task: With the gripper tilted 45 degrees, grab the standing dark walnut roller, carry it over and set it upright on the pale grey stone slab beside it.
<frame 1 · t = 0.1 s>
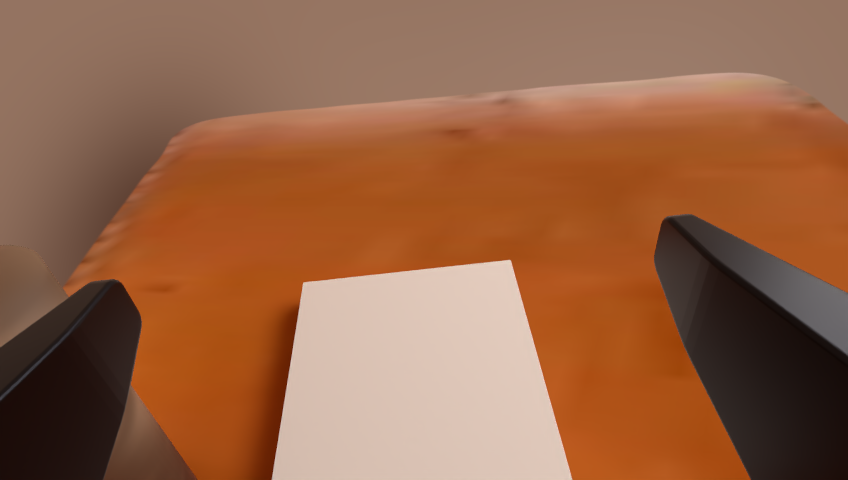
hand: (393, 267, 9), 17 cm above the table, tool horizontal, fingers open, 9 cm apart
stone slab: (416, 406, 26), on the table
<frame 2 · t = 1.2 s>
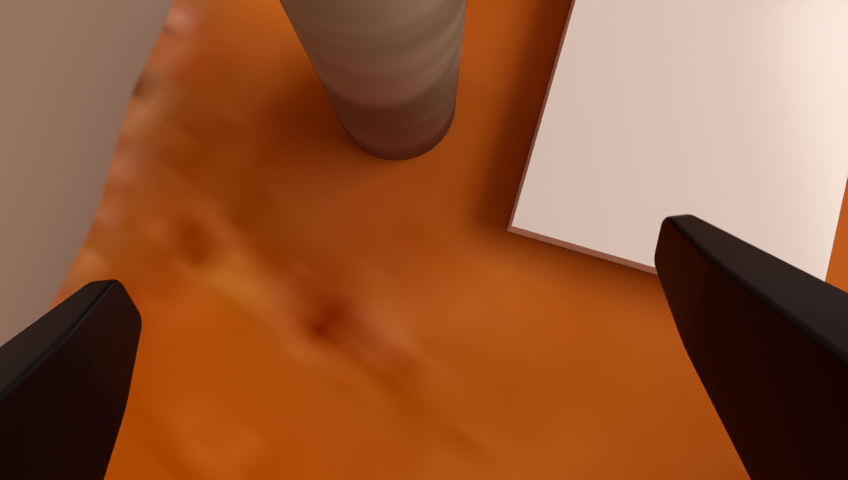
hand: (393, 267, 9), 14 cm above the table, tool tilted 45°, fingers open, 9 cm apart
stone slab: (692, 92, 23), on the table
walnut roller: (397, 103, 24), on the table
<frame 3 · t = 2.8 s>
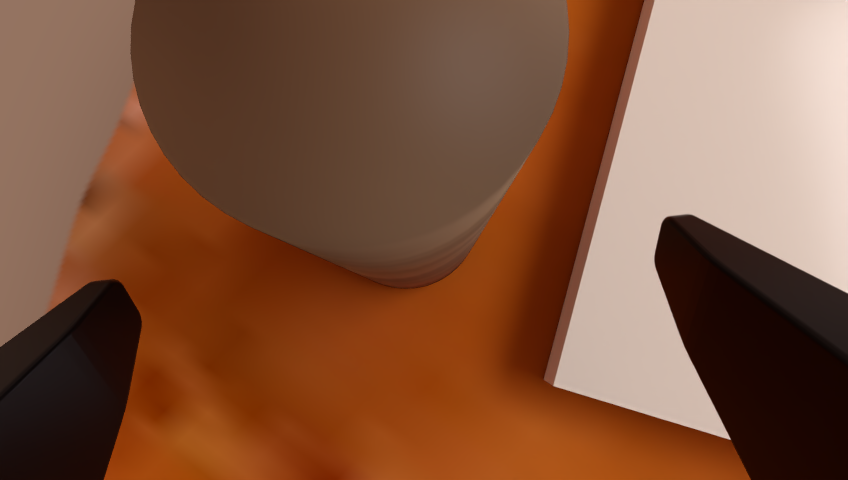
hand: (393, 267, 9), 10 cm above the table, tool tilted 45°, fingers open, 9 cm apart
stone slab: (772, 203, 19), on the table
walnut roller: (406, 216, 19), on the table
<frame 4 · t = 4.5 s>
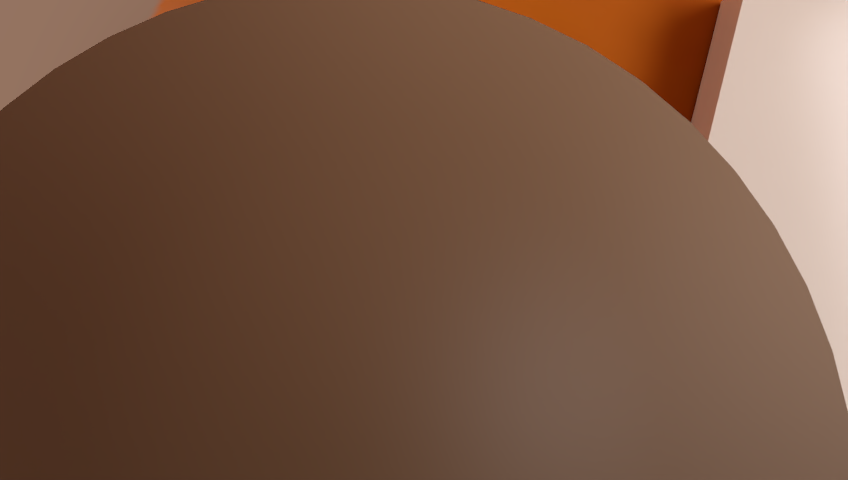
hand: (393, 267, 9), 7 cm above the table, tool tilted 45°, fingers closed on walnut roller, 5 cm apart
walnut roller: (415, 331, 16), on the table, touching gripper
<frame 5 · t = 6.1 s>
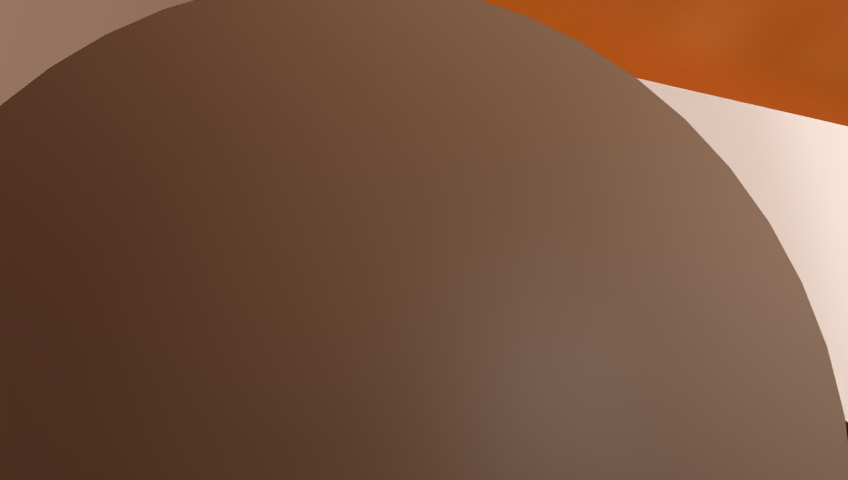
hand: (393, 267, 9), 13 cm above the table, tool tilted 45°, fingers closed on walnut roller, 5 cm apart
stone slab: (694, 302, 22), on the table
walnut roller: (414, 330, 16), point 7 cm above the table, touching gripper
when the fingers open (9 cm above the table, at t = 8.2 s): walnut roller drops 1 cm, resting on stone slab.
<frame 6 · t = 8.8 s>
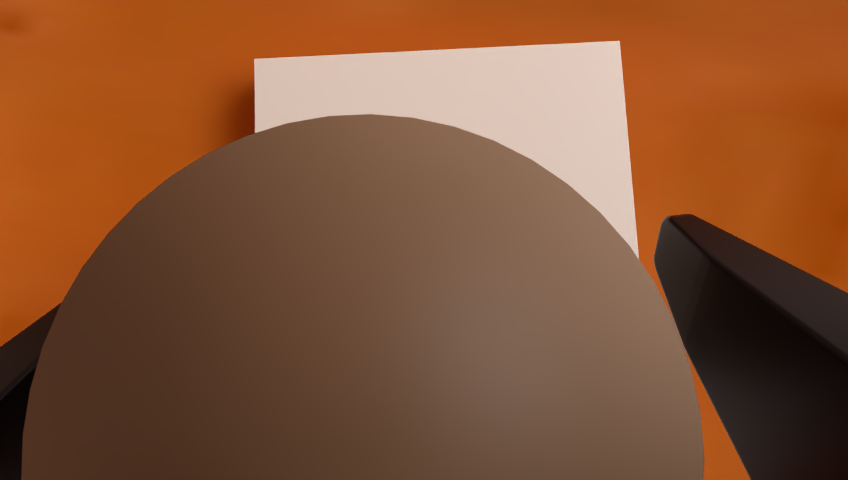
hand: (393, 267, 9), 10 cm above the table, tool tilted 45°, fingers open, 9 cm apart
stone slab: (446, 295, 19), on the table
walnut roller: (417, 330, 17), point 2 cm above the table, touching stone slab
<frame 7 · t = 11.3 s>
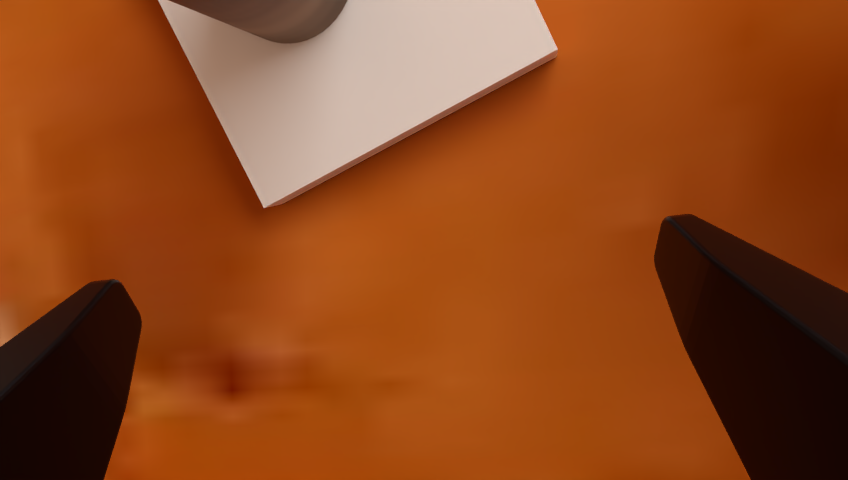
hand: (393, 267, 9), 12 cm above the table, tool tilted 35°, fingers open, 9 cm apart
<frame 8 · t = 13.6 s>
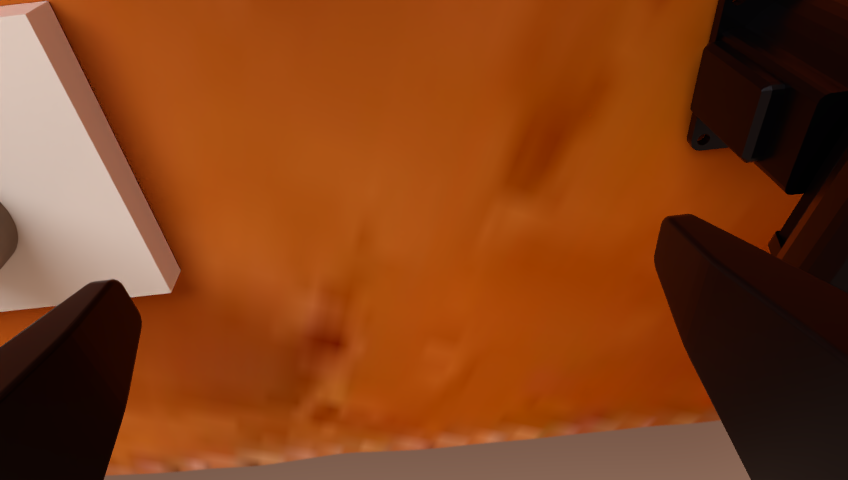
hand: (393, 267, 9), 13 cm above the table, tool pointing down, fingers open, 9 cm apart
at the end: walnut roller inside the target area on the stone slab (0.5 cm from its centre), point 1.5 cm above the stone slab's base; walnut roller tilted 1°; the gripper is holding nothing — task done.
